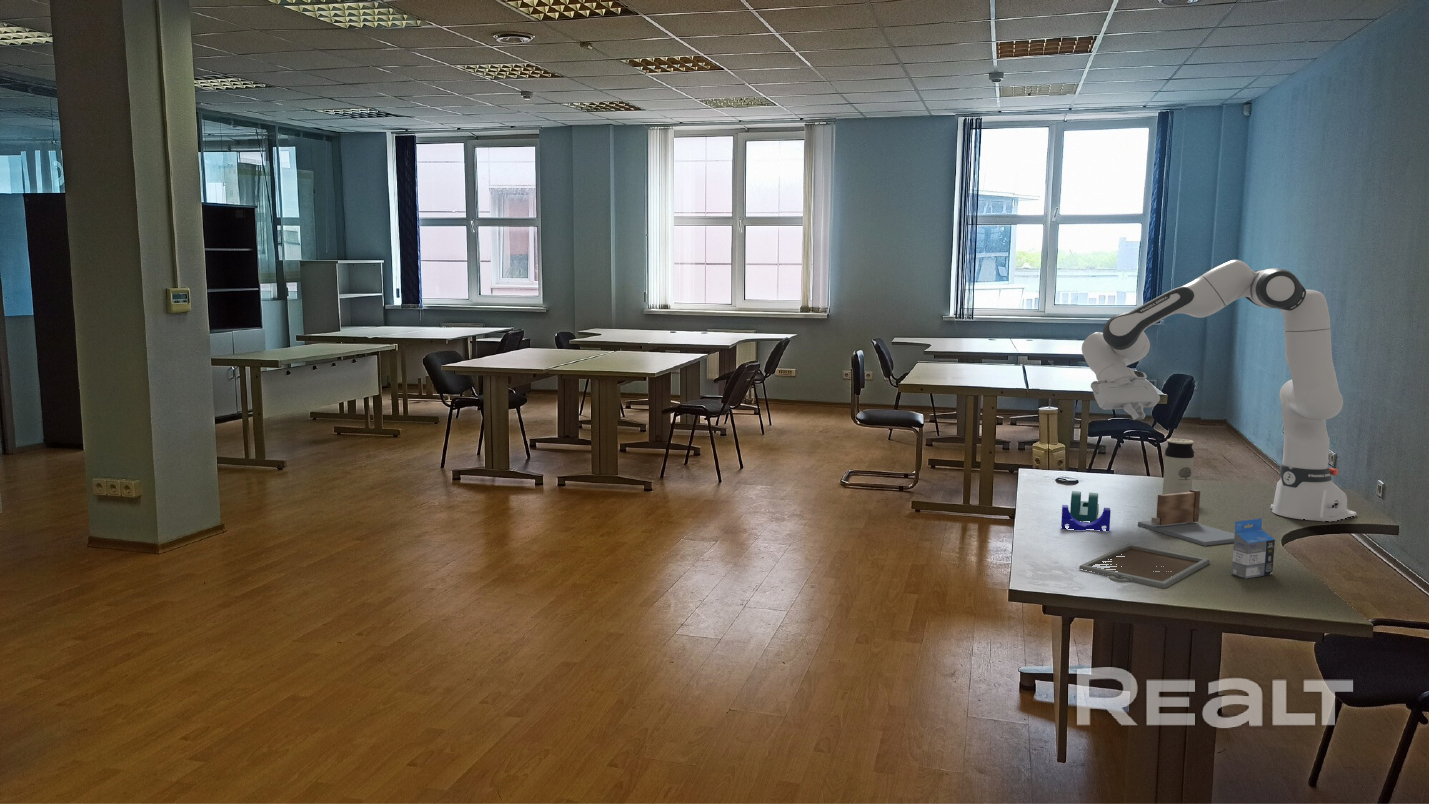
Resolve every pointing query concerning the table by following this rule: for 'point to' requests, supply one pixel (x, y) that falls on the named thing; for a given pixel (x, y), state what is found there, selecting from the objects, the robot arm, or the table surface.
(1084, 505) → the bracket
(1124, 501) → the table surface
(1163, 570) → the picture frame
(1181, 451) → the travel mug
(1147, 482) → the table surface
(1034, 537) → the table surface
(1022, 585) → the table surface
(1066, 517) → the cable clip
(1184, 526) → the grey plate
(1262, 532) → the ink cartridge box
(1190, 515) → the gate leaf
